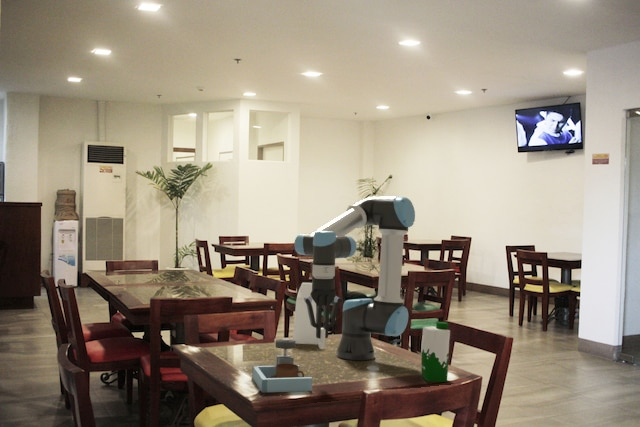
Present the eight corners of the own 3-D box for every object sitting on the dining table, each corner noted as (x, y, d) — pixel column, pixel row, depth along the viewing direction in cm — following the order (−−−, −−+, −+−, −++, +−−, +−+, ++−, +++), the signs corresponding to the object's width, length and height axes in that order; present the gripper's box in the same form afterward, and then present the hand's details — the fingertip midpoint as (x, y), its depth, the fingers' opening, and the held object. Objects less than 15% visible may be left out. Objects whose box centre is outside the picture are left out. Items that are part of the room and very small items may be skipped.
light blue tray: (293, 372, 224) (294, 355, 224) (311, 390, 200) (312, 371, 200) (248, 373, 219) (249, 355, 219) (262, 392, 196) (262, 373, 196)
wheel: (292, 353, 224) (293, 337, 224) (297, 358, 218) (297, 341, 218) (273, 354, 222) (273, 337, 223) (277, 358, 216) (278, 341, 216)
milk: (292, 343, 275) (295, 283, 276) (293, 338, 287) (295, 281, 287) (320, 344, 275) (322, 284, 276) (319, 339, 287) (322, 282, 287)
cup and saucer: (306, 381, 212) (307, 363, 212) (303, 391, 200) (304, 371, 200) (270, 379, 213) (271, 361, 213) (265, 388, 201) (266, 369, 201)
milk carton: (450, 382, 218) (452, 324, 218) (424, 382, 217) (426, 324, 217) (443, 376, 226) (445, 320, 226) (418, 376, 226) (420, 320, 226)
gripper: (307, 278, 205) (305, 351, 205) (345, 278, 208) (343, 349, 209) (301, 276, 212) (300, 346, 212) (338, 276, 216) (336, 344, 216)
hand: (321, 347), depth 211 cm, fingers closed
